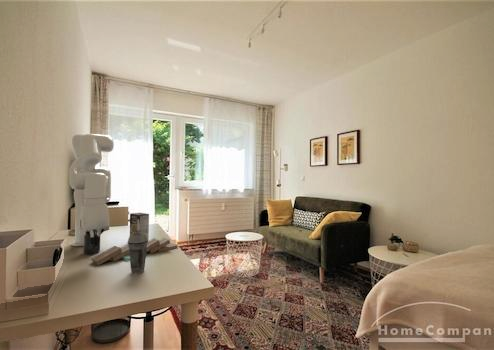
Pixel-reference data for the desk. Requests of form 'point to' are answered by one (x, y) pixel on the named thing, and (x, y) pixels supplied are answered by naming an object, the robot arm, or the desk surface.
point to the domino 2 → (124, 252)
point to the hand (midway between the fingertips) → (94, 245)
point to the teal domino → (126, 257)
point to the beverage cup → (137, 250)
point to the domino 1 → (106, 255)
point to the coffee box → (142, 223)
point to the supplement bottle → (87, 247)
